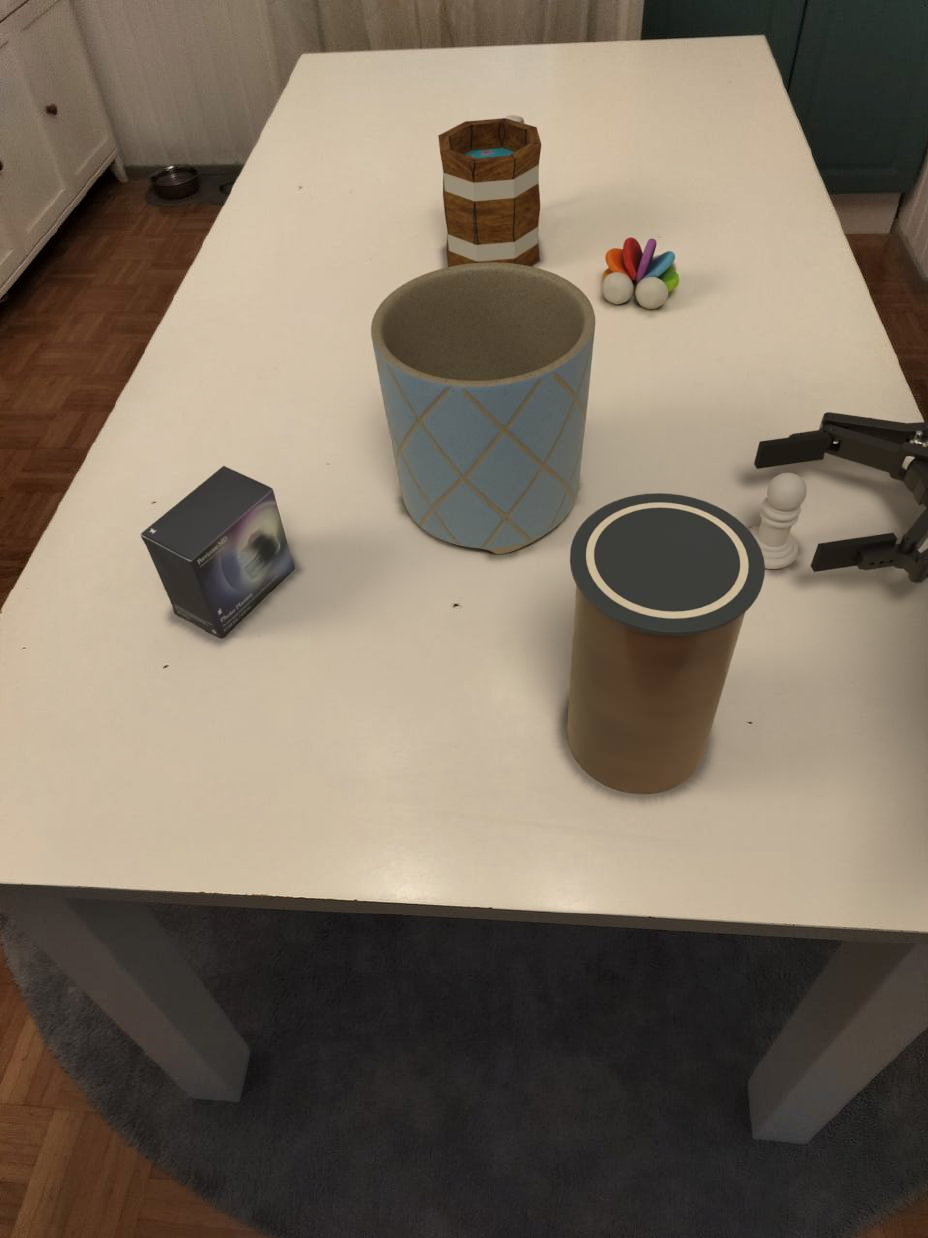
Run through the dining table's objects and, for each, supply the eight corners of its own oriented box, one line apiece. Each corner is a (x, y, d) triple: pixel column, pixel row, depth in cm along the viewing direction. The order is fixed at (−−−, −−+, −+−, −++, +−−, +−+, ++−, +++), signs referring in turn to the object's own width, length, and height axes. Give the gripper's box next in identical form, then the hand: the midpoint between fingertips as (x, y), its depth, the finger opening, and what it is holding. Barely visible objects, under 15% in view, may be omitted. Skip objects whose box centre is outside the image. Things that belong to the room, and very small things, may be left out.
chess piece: (792, 531, 84) (816, 458, 77) (800, 572, 81) (826, 499, 74) (735, 529, 85) (754, 456, 78) (741, 570, 81) (760, 497, 75)
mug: (526, 286, 115) (525, 168, 104) (429, 274, 119) (419, 158, 107) (564, 216, 127) (567, 103, 116) (475, 207, 130) (470, 96, 119)
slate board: (805, 589, 54) (807, 583, 53) (638, 665, 51) (639, 660, 50) (687, 475, 61) (688, 470, 60) (535, 536, 58) (535, 531, 57)
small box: (224, 643, 79) (190, 562, 71) (172, 615, 82) (134, 534, 74) (299, 568, 85) (275, 486, 77) (249, 544, 87) (221, 462, 79)
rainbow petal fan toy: (610, 272, 116) (614, 217, 111) (683, 282, 114) (691, 227, 108) (592, 305, 112) (596, 250, 106) (668, 317, 109) (676, 261, 103)
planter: (359, 512, 89) (324, 338, 74) (471, 414, 99) (461, 241, 83) (512, 591, 81) (508, 414, 66) (619, 477, 91) (638, 298, 75)
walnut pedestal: (734, 757, 69) (793, 586, 54) (614, 817, 66) (641, 656, 51) (653, 659, 76) (685, 482, 60) (542, 710, 73) (545, 539, 57)
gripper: (1074, 600, 74) (832, 637, 73) (931, 420, 90) (730, 448, 89) (1120, 537, 69) (857, 576, 68) (958, 357, 85) (744, 386, 84)
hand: (784, 503), depth 78 cm, fingers open, 13 cm apart
